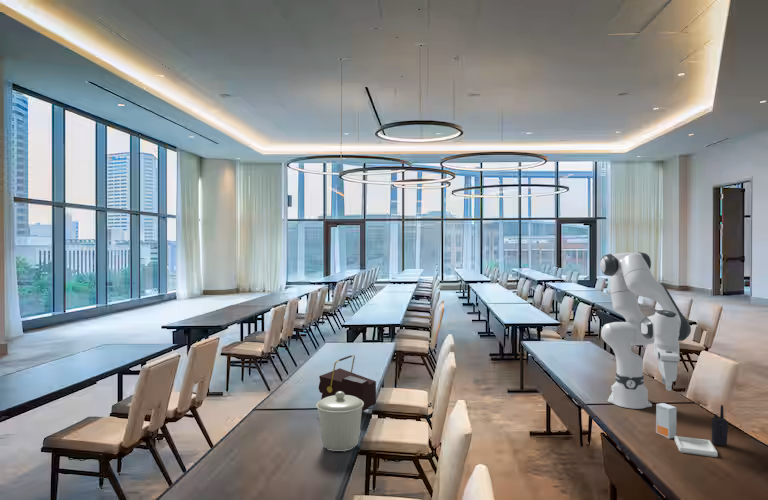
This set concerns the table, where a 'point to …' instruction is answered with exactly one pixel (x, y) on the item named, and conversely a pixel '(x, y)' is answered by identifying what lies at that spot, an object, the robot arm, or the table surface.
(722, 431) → the two-way radio
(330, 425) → the canister
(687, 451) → the tray
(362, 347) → the table surface
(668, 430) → the skincare box
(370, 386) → the brown box with handle
